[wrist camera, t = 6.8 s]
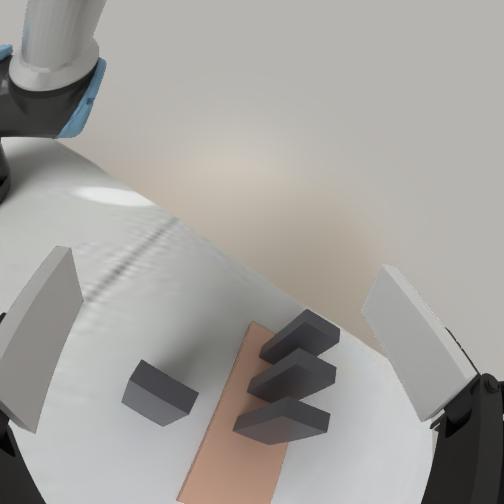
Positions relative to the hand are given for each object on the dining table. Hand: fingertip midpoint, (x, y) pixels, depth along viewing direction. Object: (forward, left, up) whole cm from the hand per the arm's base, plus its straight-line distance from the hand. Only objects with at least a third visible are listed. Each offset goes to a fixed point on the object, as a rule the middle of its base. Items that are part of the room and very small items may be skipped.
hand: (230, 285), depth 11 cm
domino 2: (+16, -9, -21) cm, 28 cm away
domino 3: (+11, -10, -21) cm, 26 cm away
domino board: (+7, -11, -22) cm, 26 cm away
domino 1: (-1, -1, -22) cm, 22 cm away
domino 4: (+5, -11, -21) cm, 25 cm away
